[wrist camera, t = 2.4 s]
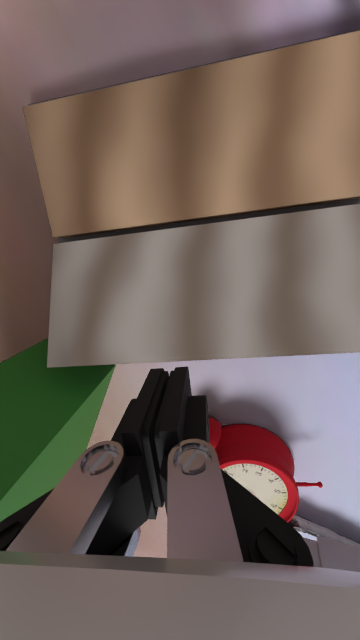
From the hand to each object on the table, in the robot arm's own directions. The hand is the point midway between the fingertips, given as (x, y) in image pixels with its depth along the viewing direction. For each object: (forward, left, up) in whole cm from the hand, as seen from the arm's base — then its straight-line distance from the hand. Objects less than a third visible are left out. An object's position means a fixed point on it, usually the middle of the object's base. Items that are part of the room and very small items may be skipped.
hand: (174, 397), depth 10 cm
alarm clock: (-2, +16, -12) cm, 20 cm away
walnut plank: (-1, -13, -12) cm, 18 cm away
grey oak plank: (-1, -3, -9) cm, 10 cm away
